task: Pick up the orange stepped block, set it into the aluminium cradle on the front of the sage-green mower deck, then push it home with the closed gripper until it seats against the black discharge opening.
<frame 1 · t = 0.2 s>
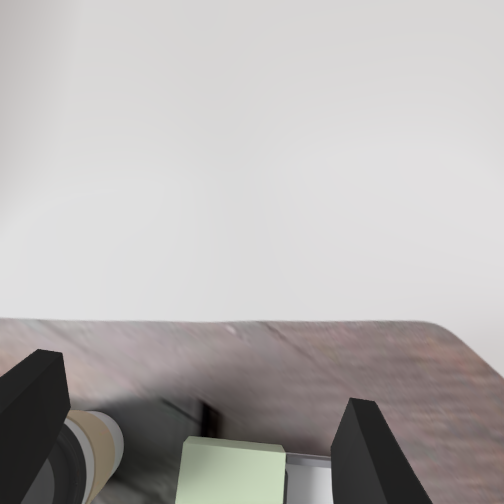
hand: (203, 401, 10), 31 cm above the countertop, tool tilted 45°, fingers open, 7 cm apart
coffee cup: (88, 448, 38), on the countertop
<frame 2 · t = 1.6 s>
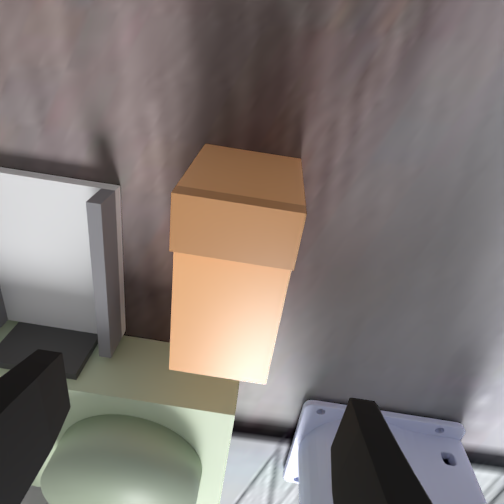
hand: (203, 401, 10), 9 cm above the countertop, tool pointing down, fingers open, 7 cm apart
orange stepped block: (241, 234, 18), on the countertop
coffee cup: (66, 496, 31), on the countertop
mower deck: (121, 389, 24), on the countertop
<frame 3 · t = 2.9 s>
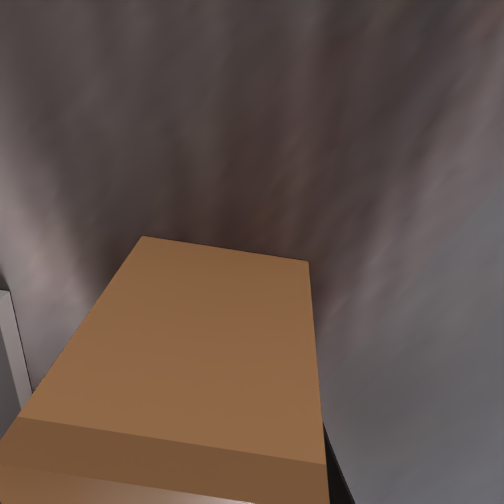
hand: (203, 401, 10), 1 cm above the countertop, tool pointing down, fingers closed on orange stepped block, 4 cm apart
orange stepped block: (211, 367, 11), on the countertop, touching gripper
when the fingers open (3 cm above the countertop, at t = 6.2 s): orange stepped block stays where it is, resting on mower deck.
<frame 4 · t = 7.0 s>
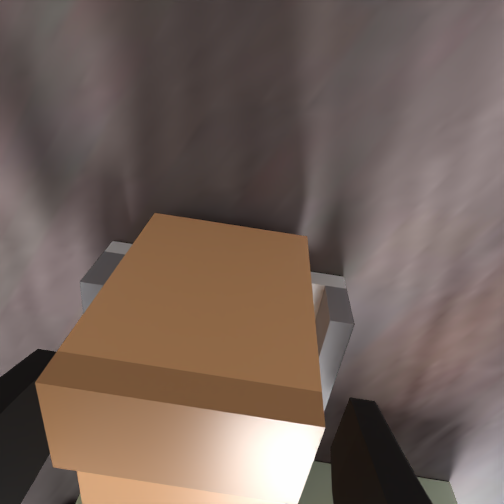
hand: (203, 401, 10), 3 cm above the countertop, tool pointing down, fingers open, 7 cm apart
orange stepped block: (217, 339, 12), point 1 cm above the countertop, touching mower deck
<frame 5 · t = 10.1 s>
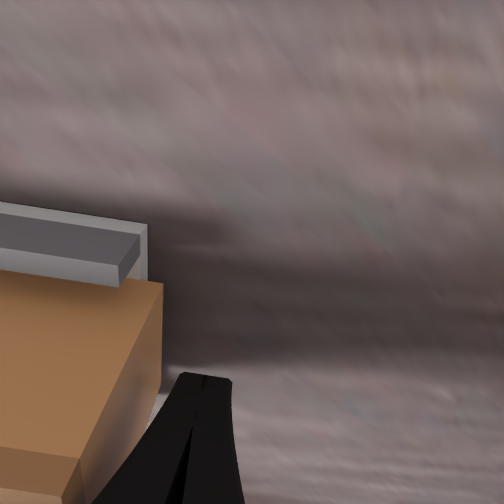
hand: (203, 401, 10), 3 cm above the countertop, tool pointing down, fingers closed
orange stepped block: (29, 317, 12), point 1 cm above the countertop, touching gripper
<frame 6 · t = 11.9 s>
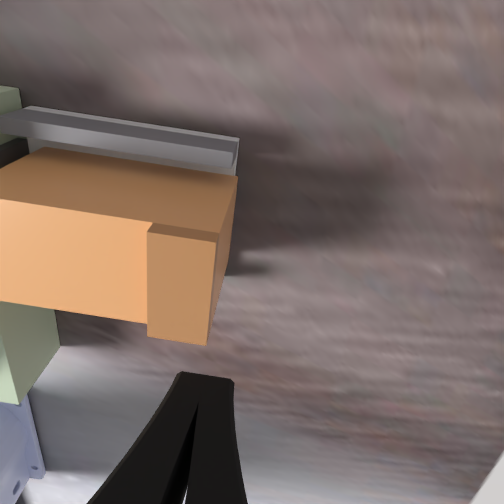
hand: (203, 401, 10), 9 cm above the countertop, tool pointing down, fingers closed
orange stepped block: (141, 206, 17), point 1 cm above the countertop, touching mower deck
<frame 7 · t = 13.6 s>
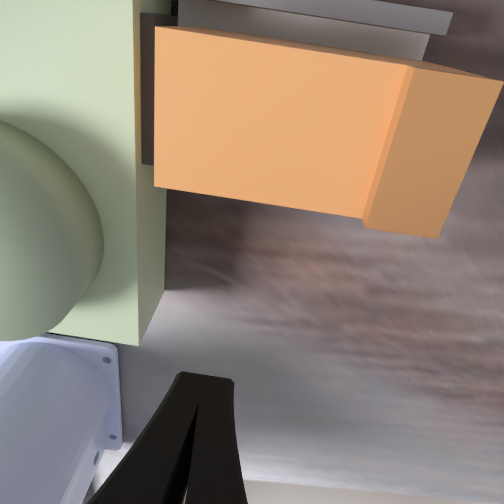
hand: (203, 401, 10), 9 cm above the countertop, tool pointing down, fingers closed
orange stepped block: (300, 104, 15), point 1 cm above the countertop, touching mower deck
mower deck: (62, 141, 17), on the countertop
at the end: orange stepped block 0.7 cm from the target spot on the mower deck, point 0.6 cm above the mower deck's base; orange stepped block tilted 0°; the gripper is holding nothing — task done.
